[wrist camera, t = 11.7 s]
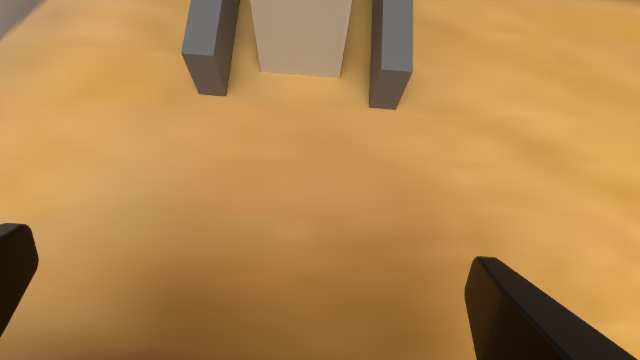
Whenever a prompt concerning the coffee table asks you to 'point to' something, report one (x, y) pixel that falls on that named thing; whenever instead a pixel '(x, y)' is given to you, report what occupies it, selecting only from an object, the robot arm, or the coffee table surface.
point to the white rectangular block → (301, 35)
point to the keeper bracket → (219, 31)
